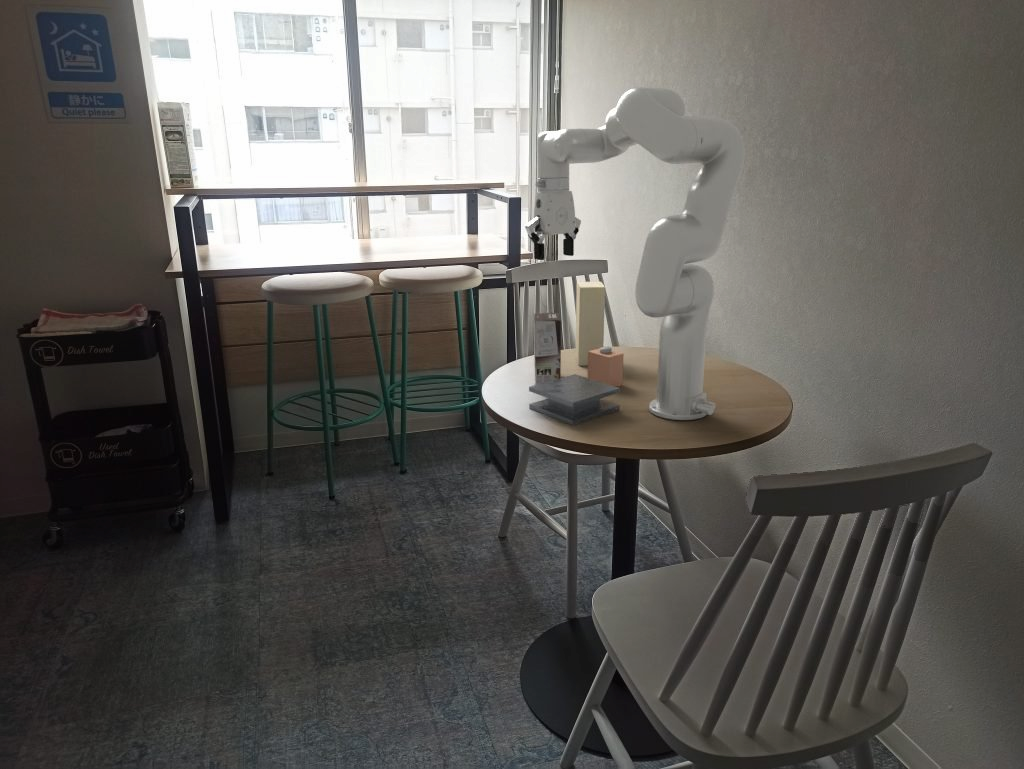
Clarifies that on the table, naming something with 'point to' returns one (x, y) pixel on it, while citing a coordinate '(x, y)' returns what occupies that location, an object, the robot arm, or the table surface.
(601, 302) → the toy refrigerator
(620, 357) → the block
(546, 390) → the stand
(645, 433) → the table surface
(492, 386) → the table surface
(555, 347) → the coffee box
